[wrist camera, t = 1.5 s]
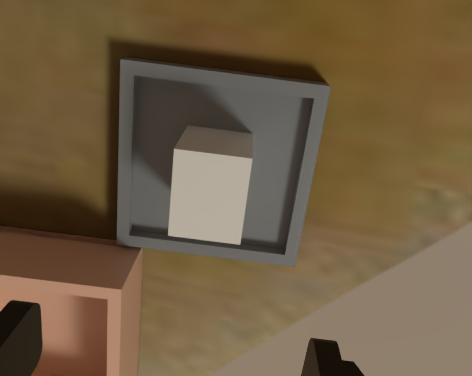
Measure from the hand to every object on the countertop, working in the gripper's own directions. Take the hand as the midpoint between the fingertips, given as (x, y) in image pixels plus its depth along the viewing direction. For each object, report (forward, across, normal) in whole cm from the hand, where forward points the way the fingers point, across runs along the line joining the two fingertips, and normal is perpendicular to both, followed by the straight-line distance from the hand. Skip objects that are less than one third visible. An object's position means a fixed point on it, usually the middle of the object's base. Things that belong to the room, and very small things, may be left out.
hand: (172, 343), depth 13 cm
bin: (+16, +11, +13) cm, 24 cm away
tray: (+16, 0, 0) cm, 16 cm away
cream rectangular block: (+16, 0, 0) cm, 16 cm away
